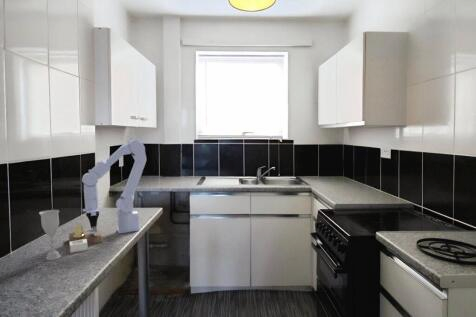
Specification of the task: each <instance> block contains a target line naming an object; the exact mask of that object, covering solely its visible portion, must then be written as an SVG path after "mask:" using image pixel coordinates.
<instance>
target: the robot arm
mask: <svg viewBox="0 0 476 317" xmlns="http://www.w3.org/2000/svg"><path fill="white" fill-rule="evenodd" d="M130 154H131V156H132V157H133V160H134V163H133V164H132V165H133V166H132V168H131V171H130V173H129V176H128V180H127V182H126V184H125V187H124V190H123V192H122V193H121V194H120V197H119V198H118V199H117V200H116V201H115V206H116V209H118V210H117V211H116V212H117V213H116V214H117V216H116V217H117V226H118V227H117V229H116V231H117V233H118V234H125V233H132V232H136V231H137V232H138V231H140V222H139V213H138V211H137V210H133V209H134V201H135V193H136V190H137V187H138V185H139V182H140V179H141V177H142V174H143V172H144V171H143V170H144V168H145V165H146V162H147V156H146V155H147V154H146V147H145V145H144V144H143V142H142V141H141V140H139V139H130V140H127V141H126V143H124V144H122V145H121V146H120V147H119V148H118V149H117V150H116V151H114V152H113V153H112V154H111V155H110V156H109V157H108V158H107V159H105V160H101V161H97V162H96V165H95V166H94V167H92V168H91V169H88V172H87V173H85V174H83V175H82V179H81V182H82V183H83V193H84V194H83V196H84V197H83V198H84V208H83V209H82V212H86V213H85V216H86V218H87V219H88V221H89V225H90V228H91V229H90V230H92V226H96V228H97V226H98V220H99V219H98V218H99V215H100V207H99V193H98V188H97V184H98V181H99V180H101V179H102V178H103V177H104V176H105V175H107V173H109V171H110V170H111V166H112V165H113V164H115V163H116V162H117V161H119V159H121V158H122V157H123V156H124V155H130Z"/></svg>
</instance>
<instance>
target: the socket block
mask: <svg viewBox="0 0 476 317" xmlns="http://www.w3.org/2000/svg"><path fill="white" fill-rule="evenodd" d="M86 231H92V229H89V230H83V233H84V232H86ZM97 231H98V235H97V236H94V234H87V235H85V237H82V238H74V237H73V236H74V235H75V231H74V232H70V233H68V241H69V243H70V241H76V240H82V239H87V245H88V246H89V245H95V244H100V243H102V234H101V232H100V229H99V228H97Z"/></svg>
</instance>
